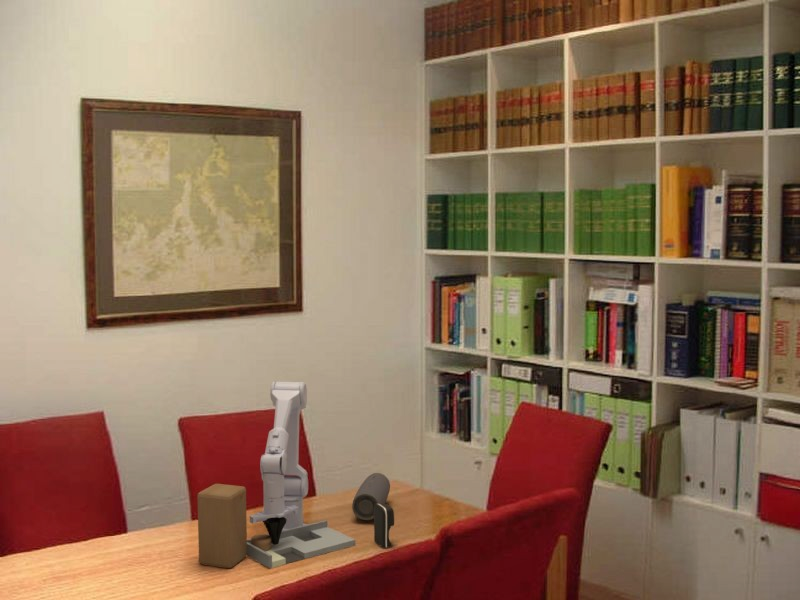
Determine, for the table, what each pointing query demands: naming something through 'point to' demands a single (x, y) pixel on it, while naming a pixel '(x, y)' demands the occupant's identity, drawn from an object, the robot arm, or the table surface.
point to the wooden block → (222, 525)
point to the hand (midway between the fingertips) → (274, 543)
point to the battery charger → (383, 524)
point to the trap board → (300, 544)
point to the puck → (262, 542)
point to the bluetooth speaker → (370, 495)
